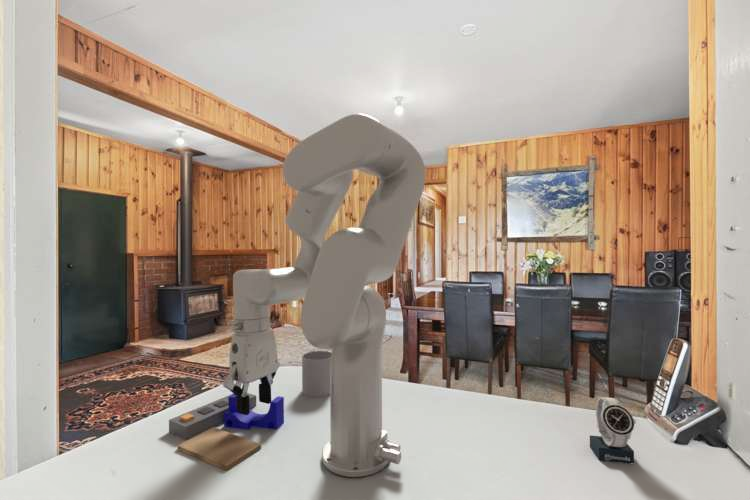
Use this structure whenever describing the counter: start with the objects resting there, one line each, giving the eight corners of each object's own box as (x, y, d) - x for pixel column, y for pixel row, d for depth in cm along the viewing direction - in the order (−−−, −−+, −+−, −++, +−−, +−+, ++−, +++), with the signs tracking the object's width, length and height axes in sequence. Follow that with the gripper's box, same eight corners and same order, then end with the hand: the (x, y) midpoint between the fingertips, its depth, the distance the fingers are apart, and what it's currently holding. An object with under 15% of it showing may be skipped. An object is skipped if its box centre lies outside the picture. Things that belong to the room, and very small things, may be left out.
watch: (603, 472, 62) (603, 408, 62) (586, 446, 70) (586, 390, 69) (640, 476, 60) (640, 411, 60) (618, 449, 68) (618, 392, 68)
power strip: (240, 402, 91) (240, 388, 91) (257, 408, 88) (257, 393, 88) (169, 434, 76) (168, 417, 76) (186, 442, 72) (186, 424, 72)
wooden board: (261, 448, 69) (261, 444, 69) (226, 470, 62) (226, 466, 62) (213, 430, 76) (213, 427, 76) (177, 449, 69) (177, 445, 69)
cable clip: (224, 426, 78) (223, 399, 78) (237, 417, 82) (236, 391, 82) (272, 434, 75) (272, 405, 75) (283, 423, 79) (283, 397, 79)
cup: (323, 384, 102) (323, 349, 102) (339, 393, 96) (339, 355, 96) (296, 391, 97) (296, 354, 97) (312, 401, 91) (311, 362, 91)
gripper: (231, 335, 70) (234, 428, 69) (292, 319, 85) (294, 396, 84) (206, 332, 73) (208, 421, 73) (268, 317, 88) (270, 391, 88)
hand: (254, 407), depth 79 cm, fingers open, 5 cm apart
